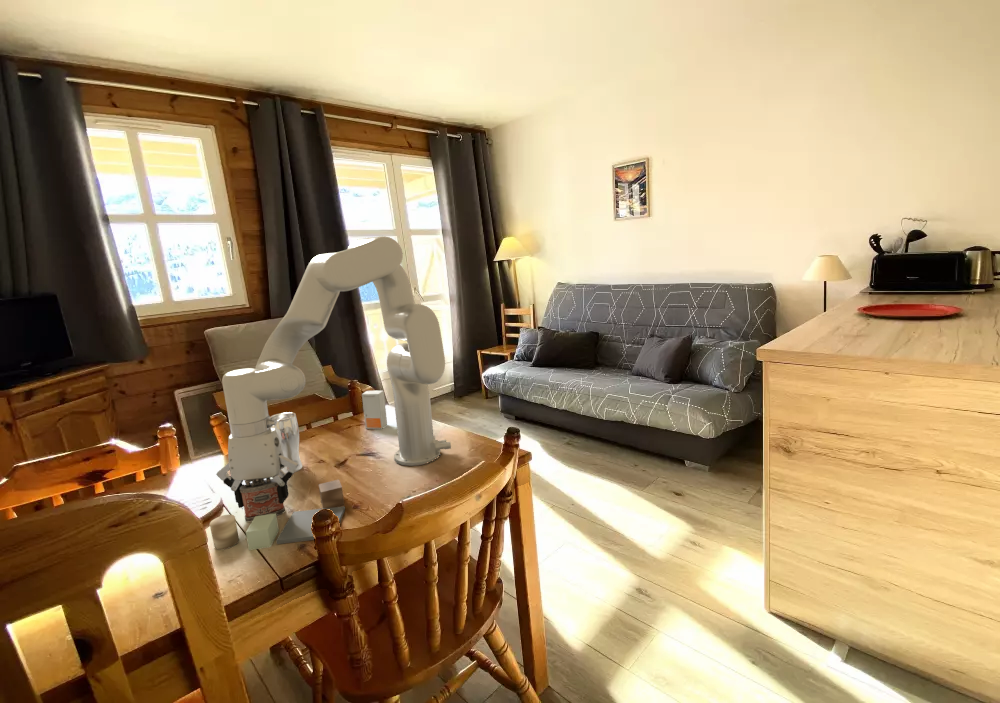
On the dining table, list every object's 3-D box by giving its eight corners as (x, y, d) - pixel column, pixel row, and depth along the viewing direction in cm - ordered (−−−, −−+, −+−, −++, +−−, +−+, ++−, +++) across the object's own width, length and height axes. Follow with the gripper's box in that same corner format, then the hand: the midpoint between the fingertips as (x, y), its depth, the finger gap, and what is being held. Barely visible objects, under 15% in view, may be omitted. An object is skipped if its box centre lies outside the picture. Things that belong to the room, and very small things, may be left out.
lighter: (244, 523, 104) (236, 480, 102) (245, 516, 107) (238, 474, 105) (285, 513, 107) (278, 471, 105) (285, 506, 110) (278, 465, 108)
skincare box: (365, 429, 158) (361, 394, 156) (370, 424, 162) (366, 390, 160) (382, 429, 157) (378, 393, 155) (388, 424, 161) (384, 390, 159)
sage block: (275, 513, 100) (255, 516, 99) (267, 528, 94) (245, 532, 94) (278, 530, 101) (258, 533, 100) (270, 547, 95) (249, 550, 94)
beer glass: (294, 475, 127) (285, 421, 124) (270, 474, 128) (261, 420, 125) (309, 464, 133) (301, 412, 130) (286, 463, 135) (278, 411, 132)
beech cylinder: (242, 535, 100) (238, 513, 99) (234, 548, 95) (229, 525, 94) (219, 538, 99) (215, 516, 98) (210, 551, 95) (205, 528, 94)
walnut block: (341, 497, 114) (338, 479, 113) (344, 505, 110) (342, 487, 109) (321, 502, 112) (318, 484, 111) (323, 511, 108) (320, 492, 107)
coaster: (345, 509, 108) (344, 506, 107) (334, 537, 97) (333, 533, 97) (294, 515, 106) (293, 511, 106) (276, 544, 96) (276, 540, 96)
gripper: (298, 417, 108) (308, 490, 111) (215, 424, 106) (229, 498, 110) (287, 429, 100) (299, 506, 104) (198, 437, 99) (213, 515, 102)
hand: (263, 502), depth 107 cm, fingers closed on lighter, 8 cm apart
